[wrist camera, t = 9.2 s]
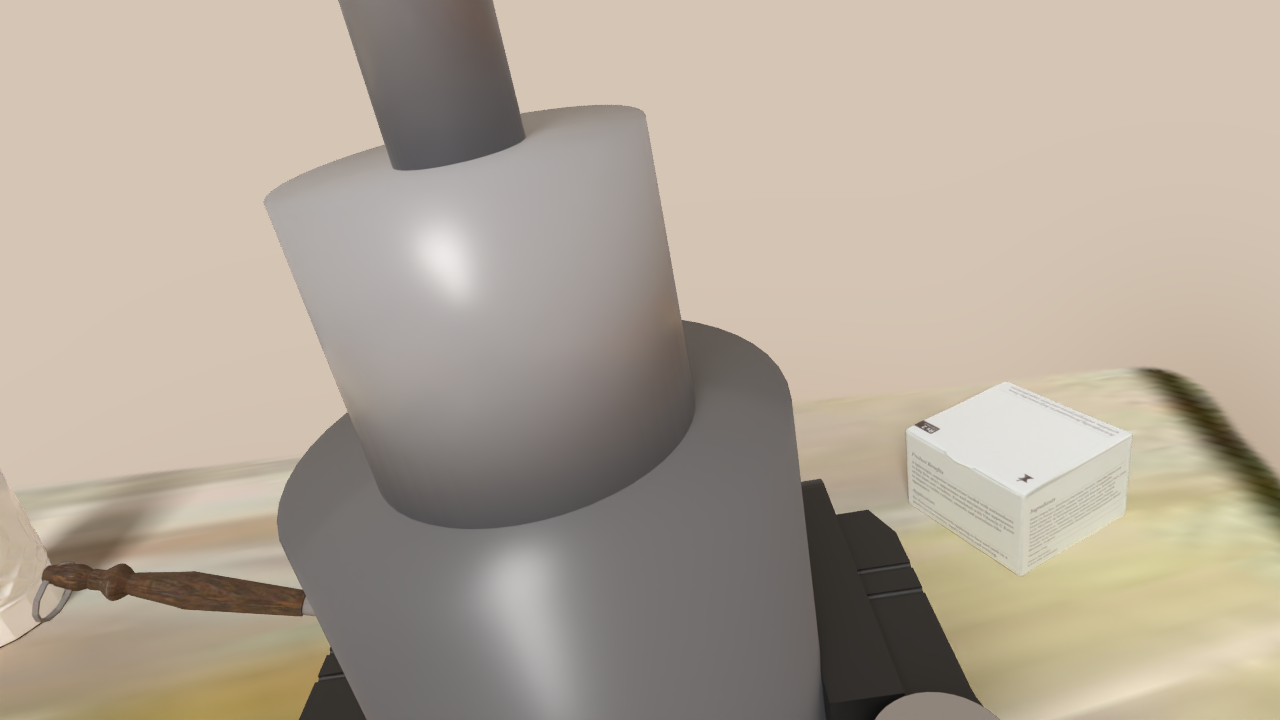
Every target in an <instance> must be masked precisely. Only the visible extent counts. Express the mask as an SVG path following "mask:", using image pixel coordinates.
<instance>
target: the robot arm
mask: <svg viewBox="0 0 1280 720" xmlns="http://www.w3.org/2000/svg"><path fill="white" fill-rule="evenodd" d="M801 488H802V496H803V505H804V514H805V523H806V532H807V541H808V550H809V558H810V567H811V576H812V585H813V594H814V603H815V611H816V620H817V629H818V638H819V647H820V670H821V679H822V688H823V696H824V705H825V714H826V720H1000V719H999V718H998V717H996V716H995V715H994V714H993V713H991V712H990V711H989V710H987V709H986V708H984V707H983V705H982V704H981V703H980V702H979V700H978V699H977V698H976V696H975V695H974V693H973V691H972V689H971V688H970V686H969V684H968V681H967V679H966V677H965V675H964V673H963V671H962V669H961V667H960V665H959V663H958V661H957V659H956V657H955V654H954V652H953V650H952V648H951V646H950V644H949V642H948V640H947V638H946V636H945V634H944V632H943V630H942V627H941V625H940V623H939V621H938V619H937V617H936V615H935V613H934V611H933V609H932V607H931V605H930V602H929V600H928V598H927V596H926V594H925V593H923V591H922V586H921V584H920V582H919V580H918V578H917V575H916V573H915V571H914V569H913V568H911V565H910V561H909V559H908V557H907V555H906V553H905V551H904V548H903V546H902V544H901V542H900V540H899V538H898V536H897V534H896V532H895V531H893V530H892V529H891V528H890V527H889V526H887V525H886V524H885V523H884V522H882V521H881V520H880V519H879V518H877V517H876V516H875V515H874V514H873V513H871V512H870V511H869V510H864V511H857V512H851V513H844V514H838V515H836V514H835V511H834V509H833V506H832V504H831V501H830V498H829V496H828V493H827V491H826V488H825V486H824V483H823V481H822V480H821V479H817V480H810V481H804V482H801ZM318 677H319V681H318V682H316V683H315V684H314V686H313V689H312V691H311V693H310V696H309V698H308V700H307V702H306V705H305V707H304V709H303V712H302V714H301V716H300V719H299V720H367V719H366V717H365V715H364V713H363V711H362V709H361V707H360V705H359V703H358V701H357V699H356V697H355V695H354V693H353V691H352V689H351V687H350V685H349V683H348V681H347V679H346V676H345V674H344V672H343V670H342V668H341V666H340V664H339V662H338V660H337V658H336V656H335V654H334V652H333V650H332V648H331V647H330V655H327V656H326V659H325V661H324V663H323V666H322V668H321V670H320V673H319V675H318Z"/></svg>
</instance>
